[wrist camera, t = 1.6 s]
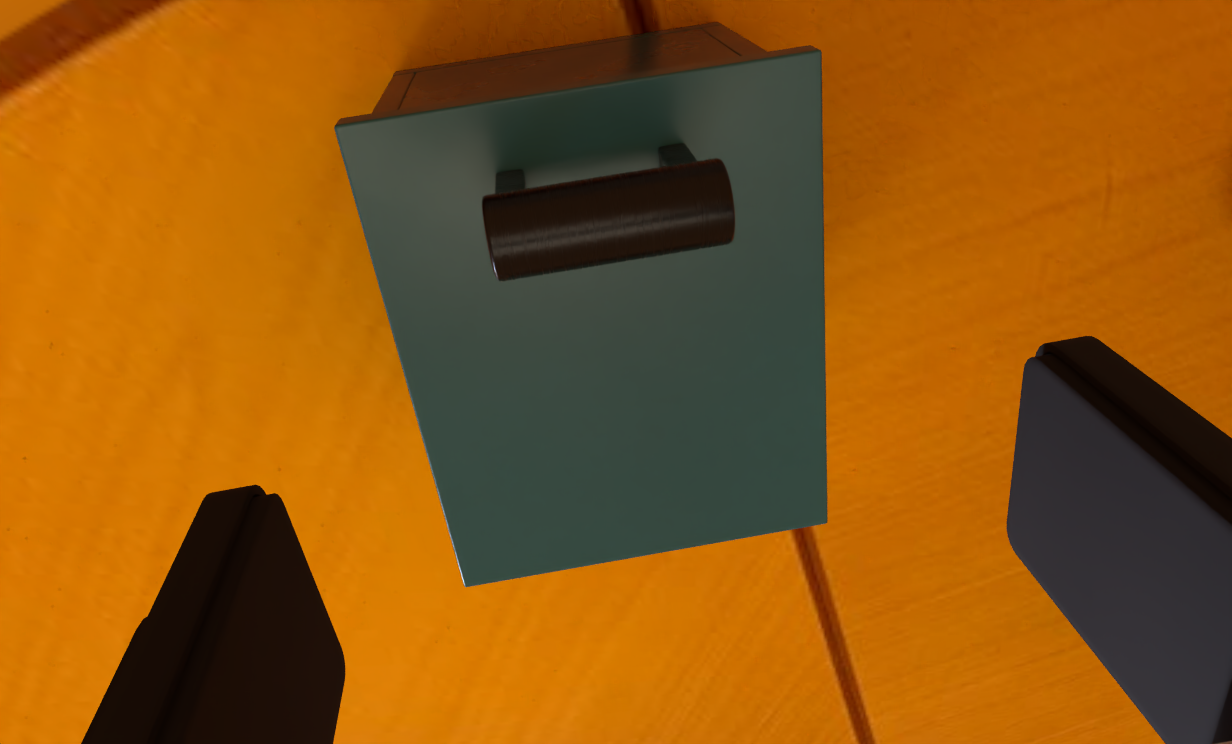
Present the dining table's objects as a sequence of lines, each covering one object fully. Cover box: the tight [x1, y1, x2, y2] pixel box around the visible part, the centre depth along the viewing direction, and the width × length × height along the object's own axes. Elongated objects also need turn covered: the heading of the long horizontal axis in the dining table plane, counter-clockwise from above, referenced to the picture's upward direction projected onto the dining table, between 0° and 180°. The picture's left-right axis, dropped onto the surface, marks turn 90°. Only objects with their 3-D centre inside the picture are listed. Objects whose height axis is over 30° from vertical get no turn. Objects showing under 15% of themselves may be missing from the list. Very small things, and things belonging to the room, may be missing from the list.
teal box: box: [371, 22, 767, 114], centre depth 30 cm, size 14×12×11 cm
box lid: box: [334, 45, 827, 587], centre depth 22 cm, size 14×12×5 cm
